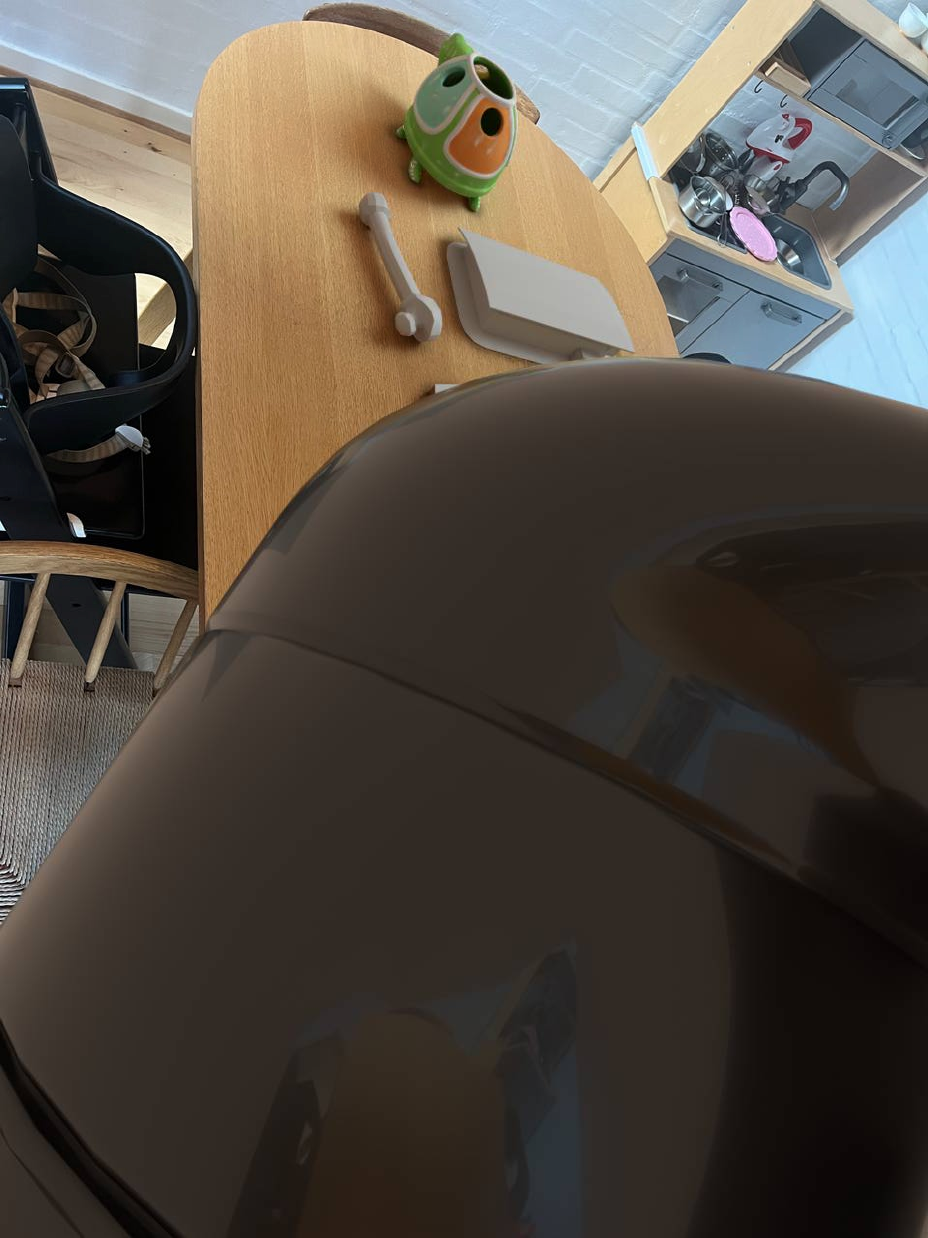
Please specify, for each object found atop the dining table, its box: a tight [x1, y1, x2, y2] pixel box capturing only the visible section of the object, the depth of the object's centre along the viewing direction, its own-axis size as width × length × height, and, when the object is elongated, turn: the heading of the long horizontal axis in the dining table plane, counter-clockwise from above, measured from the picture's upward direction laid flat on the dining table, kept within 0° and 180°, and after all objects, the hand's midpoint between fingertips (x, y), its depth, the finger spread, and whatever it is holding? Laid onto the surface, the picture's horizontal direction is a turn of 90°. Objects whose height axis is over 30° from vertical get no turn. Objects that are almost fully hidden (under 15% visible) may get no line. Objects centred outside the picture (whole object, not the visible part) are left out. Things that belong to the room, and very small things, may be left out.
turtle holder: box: [396, 32, 519, 212], centre depth 89 cm, size 12×18×12 cm
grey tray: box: [445, 226, 636, 365], centre depth 89 cm, size 15×23×4 cm, turn 101°
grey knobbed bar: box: [358, 191, 443, 343], centre depth 78 cm, size 18×5×4 cm, turn 17°
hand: (653, 1026), depth 35 cm, fingers closed on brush, 2 cm apart
